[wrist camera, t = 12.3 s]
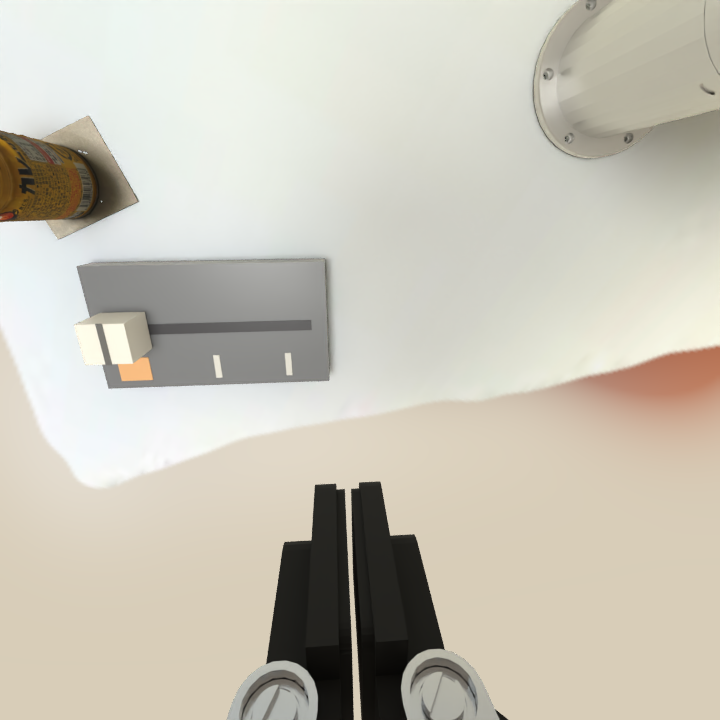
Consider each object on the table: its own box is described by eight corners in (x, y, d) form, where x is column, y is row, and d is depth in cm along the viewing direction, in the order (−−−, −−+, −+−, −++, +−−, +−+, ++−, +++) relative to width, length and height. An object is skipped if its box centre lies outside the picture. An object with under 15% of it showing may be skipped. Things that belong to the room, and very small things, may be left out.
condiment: (4, 158, 34) (-154, 134, 23) (89, 115, 34) (-31, 70, 22) (59, 239, 37) (-59, 253, 26) (139, 201, 36) (54, 199, 25)
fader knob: (144, 311, 37) (123, 323, 33) (152, 348, 38) (132, 364, 34) (99, 312, 37) (73, 324, 33) (109, 350, 38) (84, 366, 34)
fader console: (324, 258, 39) (324, 261, 37) (329, 371, 43) (329, 380, 41) (92, 262, 38) (75, 266, 35) (120, 378, 42) (108, 388, 40)
